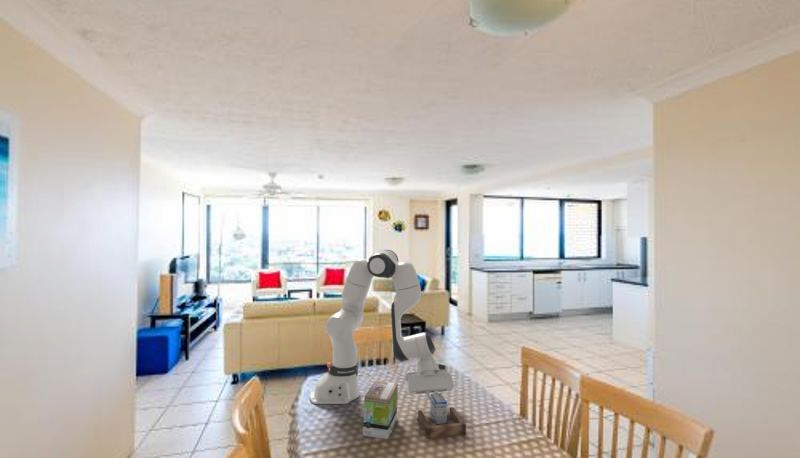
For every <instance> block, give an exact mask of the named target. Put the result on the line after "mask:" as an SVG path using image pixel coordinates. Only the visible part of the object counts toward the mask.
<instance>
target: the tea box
mask: <svg viewBox="0 0 800 458" xmlns="http://www.w3.org/2000/svg"><path fill="white" fill-rule="evenodd" d="M398 392H399V385H398V383H397V382H389V381H388V382H386V381H378V380H375V381H374V382H373V383H372V385H371V386H370V388H369V389H368V391H367V392H366V393H365V395H364V403H363V426H362V428H363V429H362V436H365V437H371V438H377V439H385V440H388V439H389V437H390V435H391V433H392V431H393V428H394V426H395V423H396V421H397V419H398Z"/></svg>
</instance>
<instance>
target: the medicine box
mask: <svg viewBox="0 0 800 458" xmlns="http://www.w3.org/2000/svg"><path fill="white" fill-rule="evenodd" d="M430 396H431V404H430V416H431V417H432V419H433V421H434V422H435V424H436V425H445V424H448V423H447V421H448V402H447V400H446V399H445V397H444V396H443V394H442V393H441V392H438V393H435V394H434V393H430Z"/></svg>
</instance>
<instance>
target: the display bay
mask: <svg viewBox="0 0 800 458" xmlns="http://www.w3.org/2000/svg"><path fill="white" fill-rule="evenodd" d="M449 417H450V419H451V421H452V423H444V424H436V425H430V423H429V422H428V419H427V418H426V416H425V414H424V413H423V410H422V409H418V410H417V421H418V422H419V425H420V426H421V428H422V431H423V433H424V436H425V437H426V438H427V439H430V438H431V439H432V438H439V437H440V436H442V437H446V436H447V437H449V436H451V437H452V436H457V435H458V436H459V435H466V434H467V433H466V431H467V429H466V427H467V424H466V423H465V421H464V419H462V417H461V416H460V414H459V413H458V412H457V410H456V409H455V407H453V406H452V407H451V406H450V407H449ZM440 438H441V437H440Z"/></svg>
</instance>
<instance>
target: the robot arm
mask: <svg viewBox="0 0 800 458" xmlns="http://www.w3.org/2000/svg"><path fill="white" fill-rule="evenodd" d="M374 277H376V278H380V279H381V278H383V279H390V278H391V280H392V282H393V285H394V289H395V298H394V300H393V301H392V303H391V306H390V307H391V308H390V315H391V318H390V319H391V332H392V334H391V335H392V337H391V338H392V345H391V348H392V349H391V350H392V355H393V357H394V359H395V360H397V361H398V362H400V363H403V362H406V361H409V360H412V359H415V360H416V361H415V362H416V364H415V365H416V370H414V371H407V372H406V373H405V375H404V378H405V382H406V390H407V393H408V395H411V396H412V395H421V394H425V397H426V398H427V400H429V404H430V405H431V394H435V393H441V392H442V393H443V392H451V391H453V390H454V388H455V383H454V380H453V377H452V376H453V375H452V374H451V373H450V372H449V371H448V370H449V367H448V365H446V364H443V363H440V362H439V363H438V362H437V361H436V359H435V357H434V355H435V353H436V347H435V341H434V336H432V335H431V334H430V333H428V332H426V331H425V332H424V331H423V332H419V333H415V334H412V335H407V336H403V335H402V323H401V321H402V320H401V319H402V316H403V315H404V314H405V313H406V312H407V311H409V310H410V309H412V308H414V307H415V306H416V305H418V303H419V302H420V300H421V298H422V288H421V284H420V280H419V276H418V274H417V271H416V269H415V267H414V265H413V264H412V262H408V261H399V257H398V255H397V253H395V252H394V251H393V250H392V249H382V250H379V251H376V252H375V253H373V254H371V256H369V258H368V259H367V258H365V257H364V258H363V257H362V258H361V257H360V258H357V259H356V260H354V261H353V263H352V265H351V267H350V268H349V271H348V273H347V277H346V280H345V283H344V285H343V289H342V292H341V298H342V302H341V307H340V310H339V311H337V312H334V313H333V314H332V315H331V316H330V317H329V318H328V319H327V320H326V322H325V326H324V327H325V332H326V334H327V335H328V337H329V338H330V340H331V346H332V362H327V364H326V367H327V372H326V373H325V374H324V375H322V376H321V377H320V378H318V379H317V381H316V385H315V387H314V388H313V389H312V390H311V391H310V394H309V400H310V402H311V403H312V404H313V405H314V404H315V405H347V404H349V403H350V402H351V401H354V400H356V399H357V398H359V397H360V396H361V391H360V388H359V381H358V374H359V363H358V345H357V344H356V342H355V338H354V332H355V330H357V329H358V328H359V327H360V326H361V325H362V322H363V321H364V318H365V317H364V310H365V302H366V299H367V296H368V293H369V290H370V286H371V284H372V280H373V278H374Z"/></svg>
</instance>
